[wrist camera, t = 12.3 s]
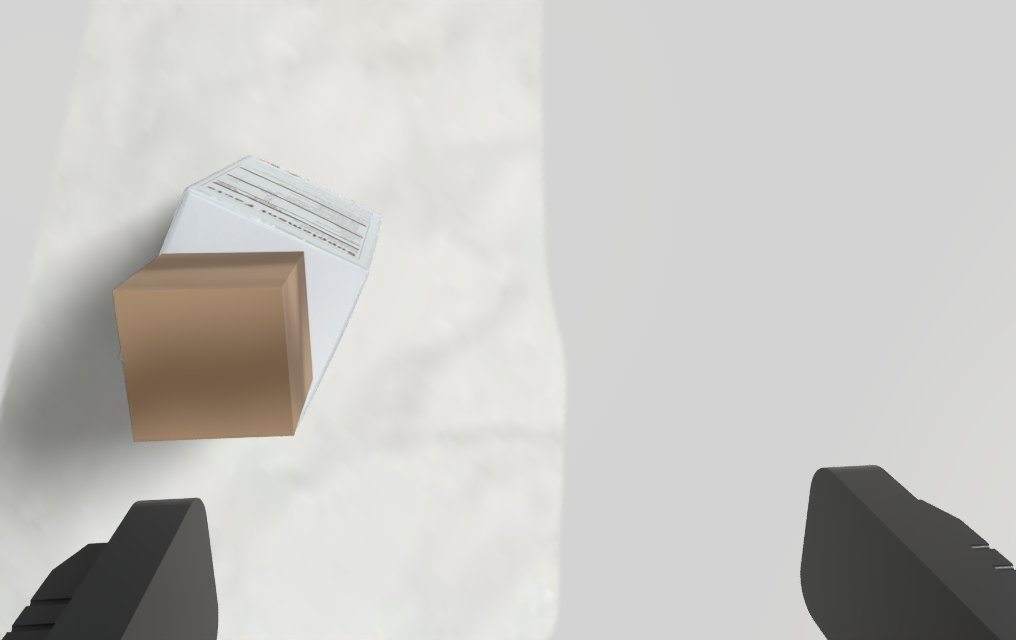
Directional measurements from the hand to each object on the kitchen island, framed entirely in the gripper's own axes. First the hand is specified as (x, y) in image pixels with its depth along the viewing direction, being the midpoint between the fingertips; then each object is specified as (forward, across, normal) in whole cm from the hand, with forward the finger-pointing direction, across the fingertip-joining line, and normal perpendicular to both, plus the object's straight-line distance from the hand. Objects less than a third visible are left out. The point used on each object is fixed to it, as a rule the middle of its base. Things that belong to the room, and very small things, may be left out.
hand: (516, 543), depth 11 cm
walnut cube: (+20, +8, +3) cm, 22 cm away
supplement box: (+33, +8, +3) cm, 34 cm away
